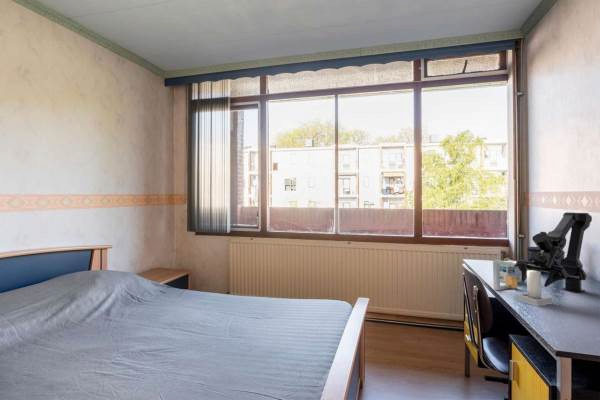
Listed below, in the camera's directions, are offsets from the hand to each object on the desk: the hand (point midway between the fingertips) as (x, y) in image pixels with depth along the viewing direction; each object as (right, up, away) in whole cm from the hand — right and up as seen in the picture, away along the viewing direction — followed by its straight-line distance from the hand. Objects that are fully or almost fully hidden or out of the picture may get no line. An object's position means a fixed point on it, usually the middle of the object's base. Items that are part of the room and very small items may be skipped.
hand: (533, 283), depth 143 cm
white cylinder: (+1, -7, 0) cm, 8 cm away
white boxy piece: (+2, -8, +16) cm, 18 cm away
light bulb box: (+12, -8, +35) cm, 37 cm away
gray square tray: (+1, -8, 0) cm, 8 cm away
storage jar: (+40, -7, +52) cm, 66 cm away
